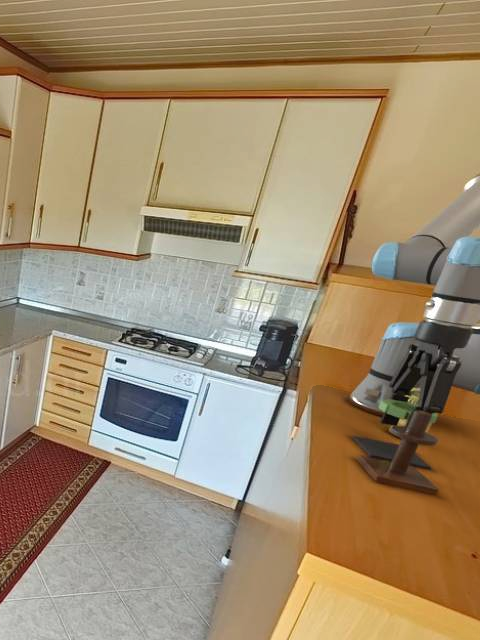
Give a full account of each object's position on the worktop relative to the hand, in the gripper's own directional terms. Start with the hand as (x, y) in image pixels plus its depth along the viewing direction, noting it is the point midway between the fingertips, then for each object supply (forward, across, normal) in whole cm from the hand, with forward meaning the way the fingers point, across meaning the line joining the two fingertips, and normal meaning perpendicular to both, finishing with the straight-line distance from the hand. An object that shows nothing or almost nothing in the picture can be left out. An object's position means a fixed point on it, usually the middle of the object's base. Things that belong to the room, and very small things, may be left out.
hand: (397, 432), depth 99 cm
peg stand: (+5, +13, -4) cm, 14 cm away
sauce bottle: (+5, -13, +8) cm, 16 cm away
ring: (-4, 0, 0) cm, 4 cm away
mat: (+5, 0, 0) cm, 5 cm away
